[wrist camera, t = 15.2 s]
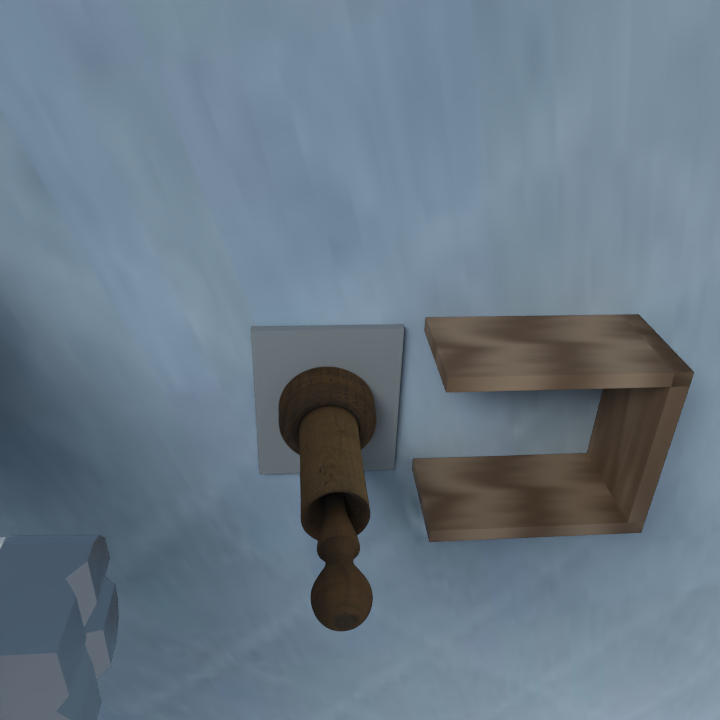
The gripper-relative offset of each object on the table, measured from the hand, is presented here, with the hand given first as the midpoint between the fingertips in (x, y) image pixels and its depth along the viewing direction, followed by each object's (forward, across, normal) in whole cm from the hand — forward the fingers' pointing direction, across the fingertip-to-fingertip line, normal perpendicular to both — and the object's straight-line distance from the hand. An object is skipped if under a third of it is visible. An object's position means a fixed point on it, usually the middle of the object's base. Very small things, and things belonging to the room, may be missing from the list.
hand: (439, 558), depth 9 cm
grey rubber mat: (+34, -1, +21) cm, 40 cm away
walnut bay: (+34, -14, +20) cm, 42 cm away
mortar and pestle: (+33, -1, +21) cm, 39 cm away
